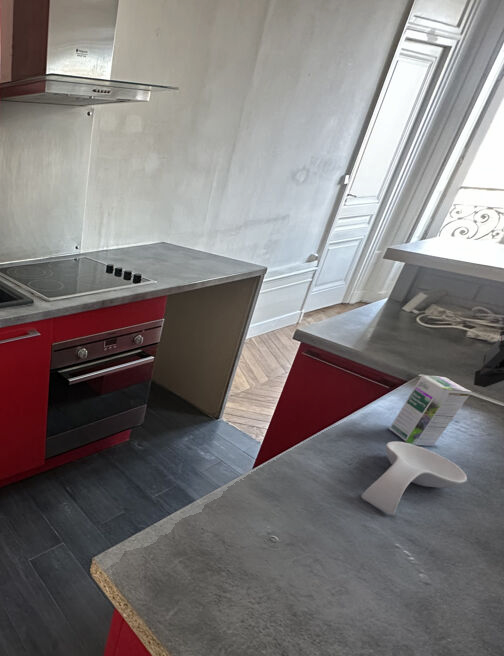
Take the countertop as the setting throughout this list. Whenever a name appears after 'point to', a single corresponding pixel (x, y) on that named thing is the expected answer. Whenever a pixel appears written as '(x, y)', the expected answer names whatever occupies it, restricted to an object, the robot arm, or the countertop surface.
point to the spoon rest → (411, 474)
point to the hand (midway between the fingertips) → (480, 379)
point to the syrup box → (429, 410)
